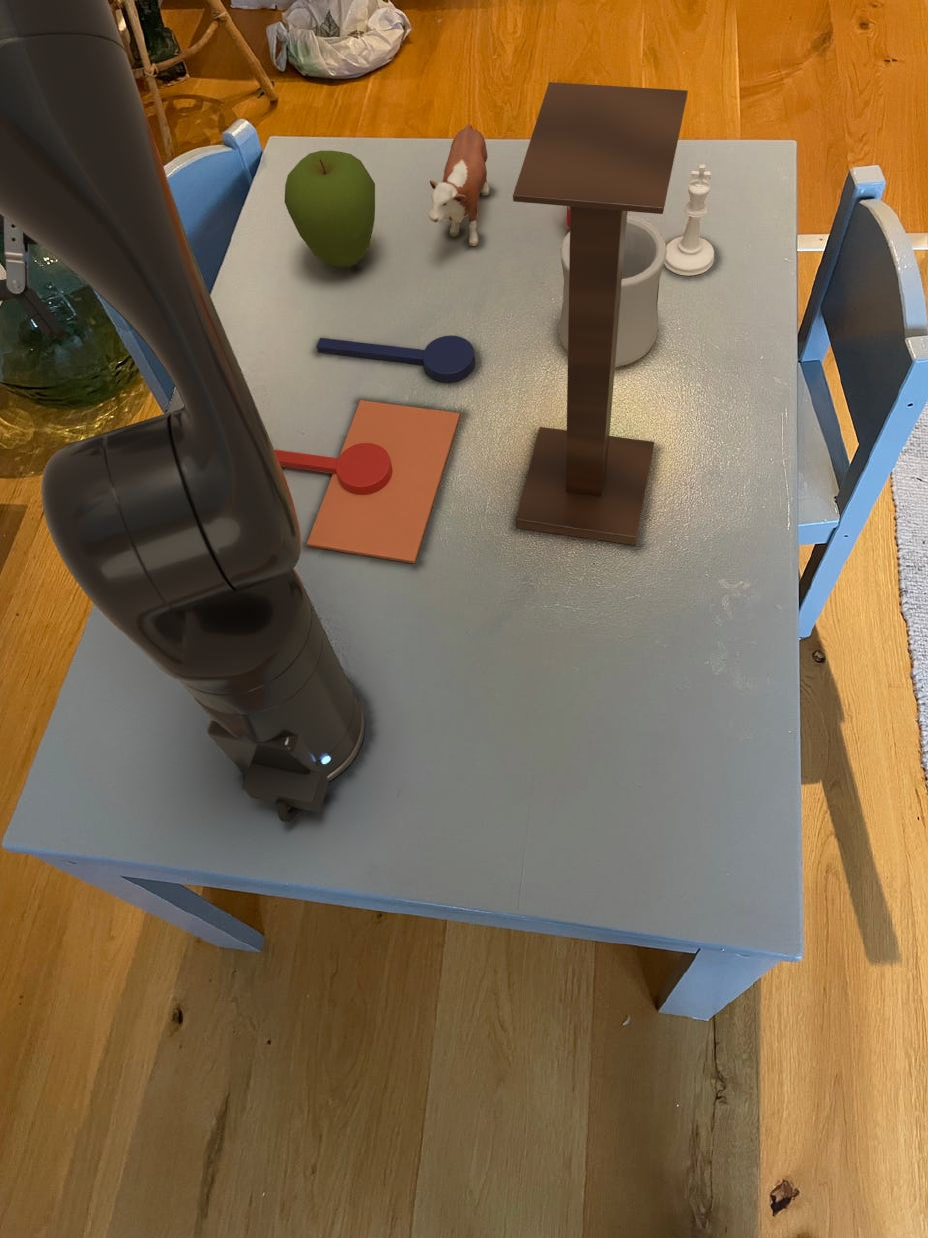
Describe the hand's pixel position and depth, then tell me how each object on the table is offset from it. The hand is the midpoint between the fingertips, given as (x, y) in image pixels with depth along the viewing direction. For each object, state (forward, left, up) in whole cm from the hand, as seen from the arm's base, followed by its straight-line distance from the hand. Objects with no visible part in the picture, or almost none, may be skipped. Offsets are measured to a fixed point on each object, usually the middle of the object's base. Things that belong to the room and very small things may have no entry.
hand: (112, 306), depth 70 cm
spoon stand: (+2, -36, -17) cm, 40 cm away
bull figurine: (+33, -18, -17) cm, 41 cm away
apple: (+26, -7, -17) cm, 32 cm away
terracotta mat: (0, -19, -17) cm, 25 cm away
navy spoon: (+14, -16, -17) cm, 27 cm away
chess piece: (+31, -41, -17) cm, 54 cm away
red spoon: (0, -12, -17) cm, 20 cm away
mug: (+21, -34, -17) cm, 44 cm away
